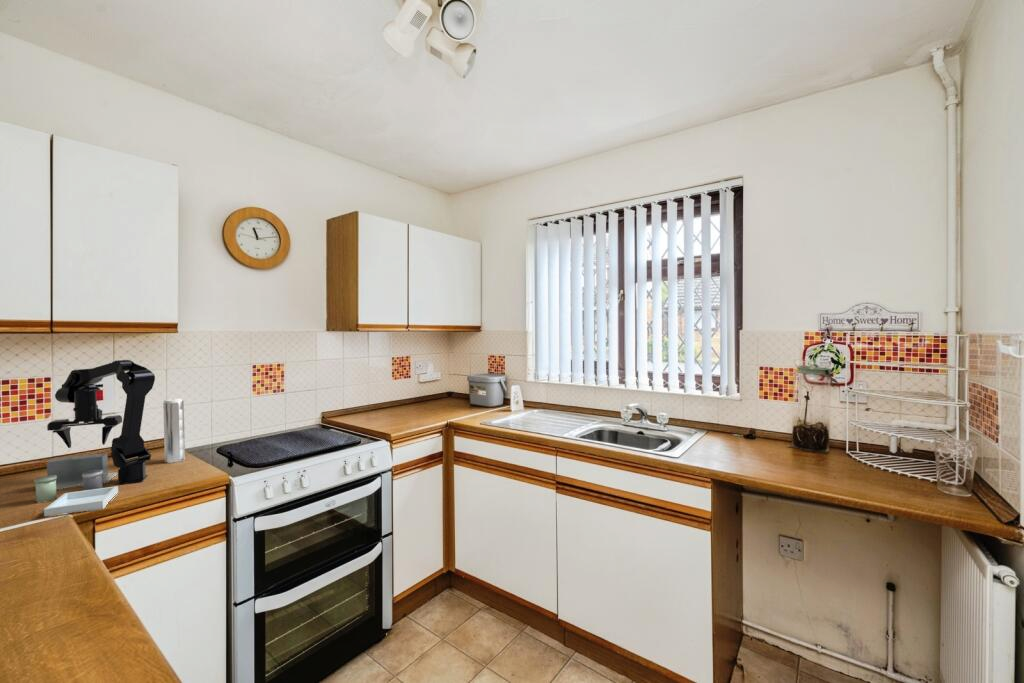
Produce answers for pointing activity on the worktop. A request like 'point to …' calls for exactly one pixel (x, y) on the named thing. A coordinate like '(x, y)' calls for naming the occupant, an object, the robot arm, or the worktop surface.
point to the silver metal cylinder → (174, 430)
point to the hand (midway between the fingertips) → (87, 446)
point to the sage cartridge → (45, 488)
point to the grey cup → (92, 479)
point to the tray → (82, 501)
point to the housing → (77, 469)
